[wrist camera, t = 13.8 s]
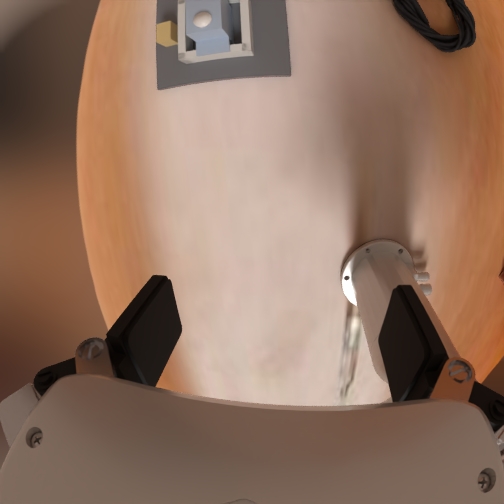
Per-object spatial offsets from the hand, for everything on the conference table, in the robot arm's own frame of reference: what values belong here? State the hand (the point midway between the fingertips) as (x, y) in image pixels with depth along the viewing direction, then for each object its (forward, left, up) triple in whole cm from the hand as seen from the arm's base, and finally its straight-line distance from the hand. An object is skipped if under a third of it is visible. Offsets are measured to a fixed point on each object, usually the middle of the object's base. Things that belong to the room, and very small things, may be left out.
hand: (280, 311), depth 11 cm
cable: (-23, -30, -28) cm, 47 cm away
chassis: (+8, -22, -28) cm, 36 cm away
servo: (+8, -22, -27) cm, 35 cm away
